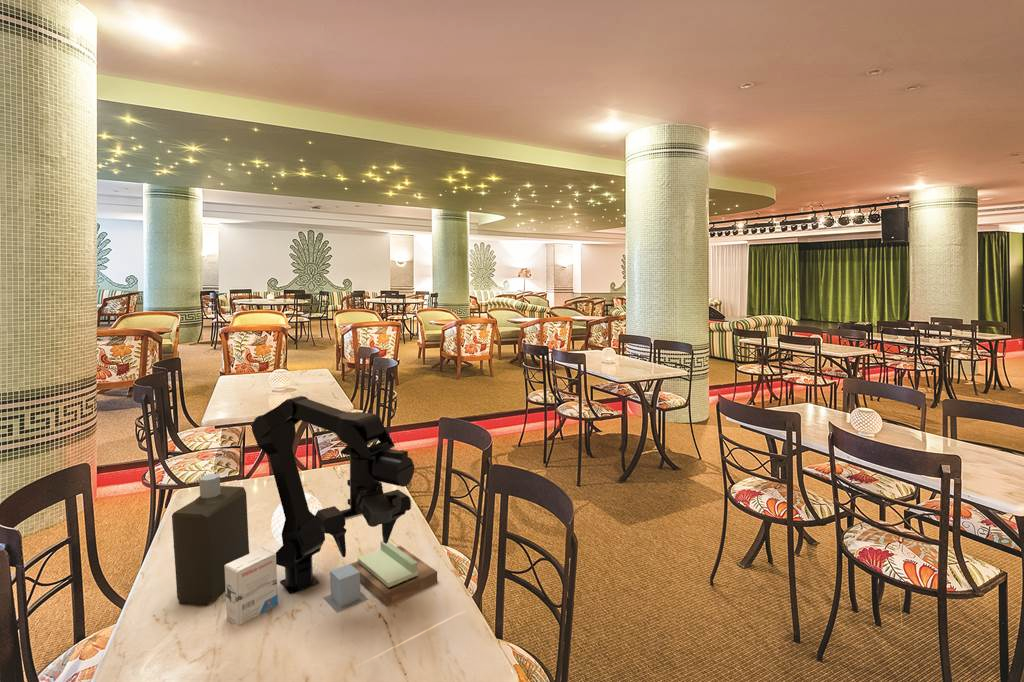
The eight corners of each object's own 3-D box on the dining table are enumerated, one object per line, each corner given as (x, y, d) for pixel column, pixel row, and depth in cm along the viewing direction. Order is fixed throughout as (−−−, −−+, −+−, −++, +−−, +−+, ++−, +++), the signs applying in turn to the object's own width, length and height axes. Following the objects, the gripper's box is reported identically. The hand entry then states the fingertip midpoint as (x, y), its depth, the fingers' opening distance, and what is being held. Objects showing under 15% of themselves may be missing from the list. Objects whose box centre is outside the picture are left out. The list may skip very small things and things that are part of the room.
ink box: (265, 598, 116) (262, 546, 114) (279, 606, 113) (277, 552, 112) (225, 619, 108) (222, 563, 107) (239, 628, 106) (236, 571, 104)
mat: (322, 599, 115) (322, 597, 115) (353, 586, 120) (353, 585, 120) (337, 614, 110) (337, 612, 110) (368, 600, 115) (368, 599, 115)
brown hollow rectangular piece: (350, 576, 124) (350, 563, 124) (400, 557, 133) (399, 545, 133) (385, 607, 113) (385, 593, 112) (437, 584, 121) (437, 571, 121)
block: (330, 597, 115) (330, 571, 115) (350, 589, 118) (350, 563, 118) (340, 607, 112) (339, 579, 111) (360, 598, 115) (359, 572, 114)
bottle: (253, 567, 128) (248, 465, 125) (208, 608, 112) (201, 492, 109) (221, 565, 129) (215, 463, 126) (173, 605, 113) (165, 490, 110)
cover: (358, 562, 124) (357, 549, 124) (386, 551, 129) (385, 539, 129) (388, 587, 114) (388, 574, 114) (417, 575, 119) (417, 562, 118)
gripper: (335, 501, 98) (336, 582, 100) (425, 478, 110) (424, 551, 112) (313, 482, 106) (314, 557, 108) (398, 463, 118) (398, 531, 120)
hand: (365, 549), depth 112 cm, fingers open, 9 cm apart
